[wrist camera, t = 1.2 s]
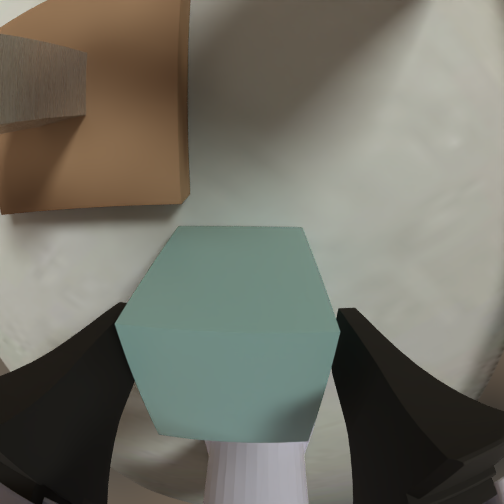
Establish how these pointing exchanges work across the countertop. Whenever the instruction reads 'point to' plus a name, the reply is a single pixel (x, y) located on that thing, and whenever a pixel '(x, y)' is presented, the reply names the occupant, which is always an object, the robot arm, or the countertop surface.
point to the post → (39, 83)
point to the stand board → (107, 110)
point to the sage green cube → (231, 335)
